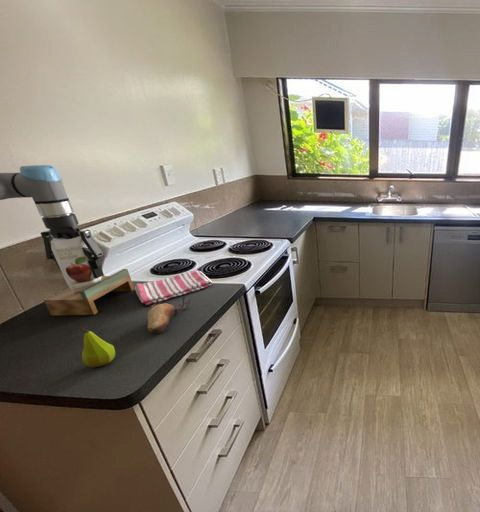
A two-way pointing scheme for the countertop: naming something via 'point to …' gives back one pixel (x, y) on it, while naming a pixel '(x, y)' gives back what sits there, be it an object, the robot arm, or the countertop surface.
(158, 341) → the countertop surface
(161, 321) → the vegetable
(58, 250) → the juice carton
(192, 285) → the dish towel
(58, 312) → the shelf
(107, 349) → the fruit
